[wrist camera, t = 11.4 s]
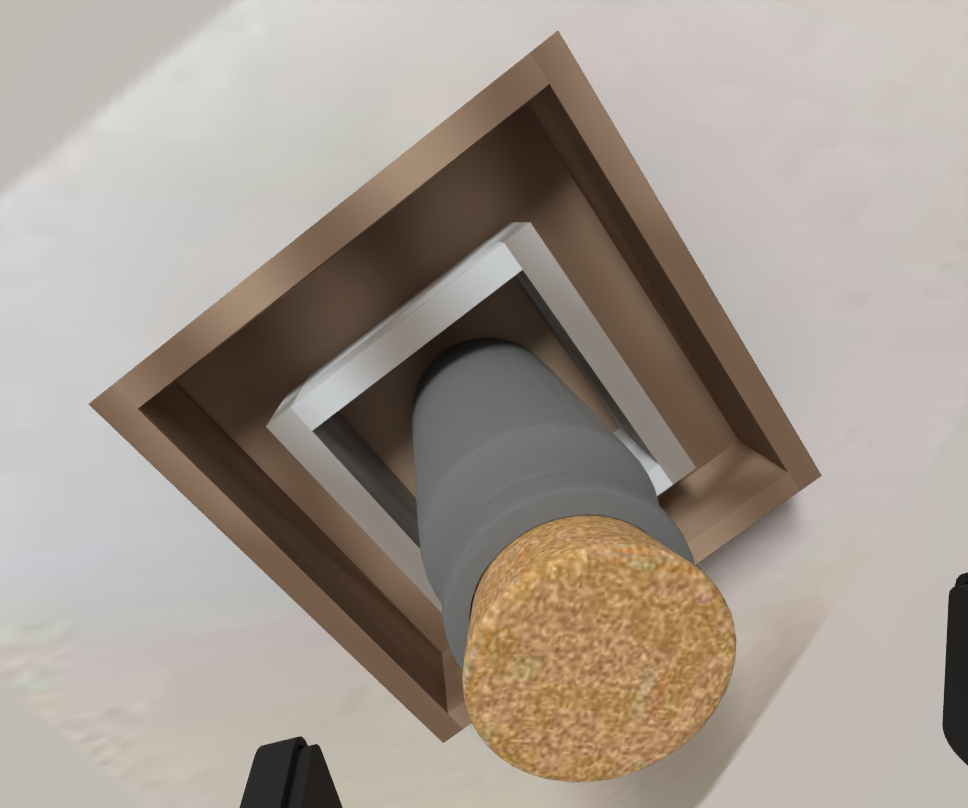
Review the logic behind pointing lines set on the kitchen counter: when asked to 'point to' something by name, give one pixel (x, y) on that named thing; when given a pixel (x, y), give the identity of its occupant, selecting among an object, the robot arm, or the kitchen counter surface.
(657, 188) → the kitchen counter surface
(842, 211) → the kitchen counter surface
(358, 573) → the walled box
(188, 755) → the kitchen counter surface
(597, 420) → the bottle
